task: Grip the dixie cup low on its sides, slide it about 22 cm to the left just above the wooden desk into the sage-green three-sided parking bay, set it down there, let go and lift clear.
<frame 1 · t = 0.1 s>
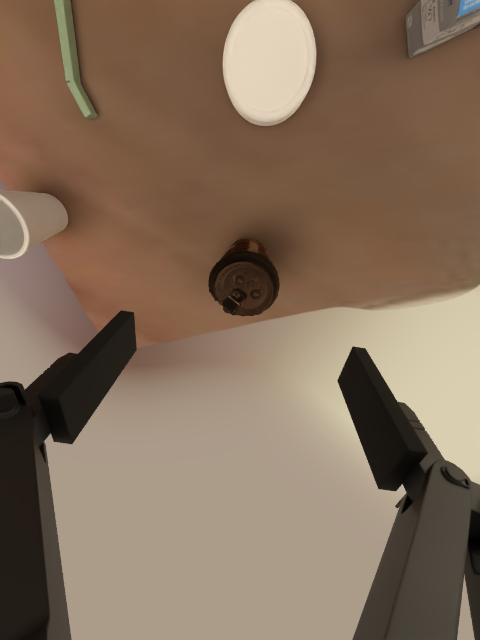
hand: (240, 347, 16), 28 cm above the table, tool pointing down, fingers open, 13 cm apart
dixie cup: (50, 213, 40), on the table
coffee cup: (246, 257, 42), on the table
label tape box: (449, 16, 27), on the table
coaster: (267, 74, 31), on the table
parking bay: (5, 3, 29), on the table
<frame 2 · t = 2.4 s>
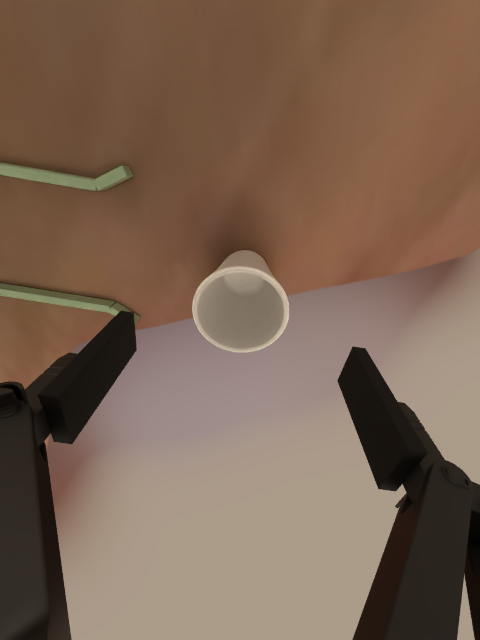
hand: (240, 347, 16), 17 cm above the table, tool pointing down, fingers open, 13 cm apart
dixie cup: (244, 273, 31), on the table
parking bay: (58, 243, 30), on the table
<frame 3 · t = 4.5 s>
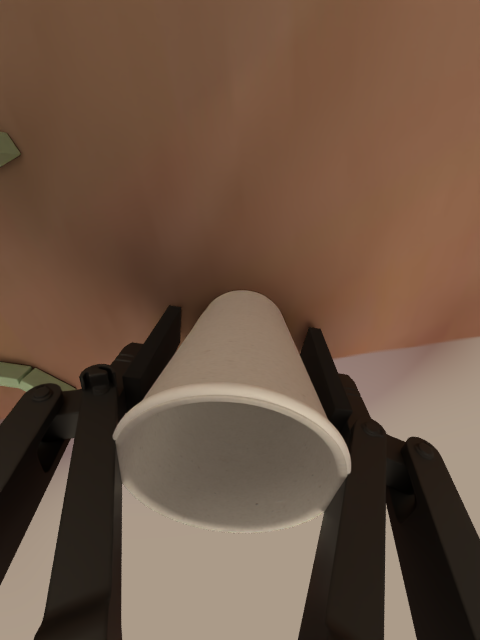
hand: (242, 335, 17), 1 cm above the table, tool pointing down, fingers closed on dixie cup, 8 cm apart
dixie cup: (243, 327, 18), on the table, touching gripper
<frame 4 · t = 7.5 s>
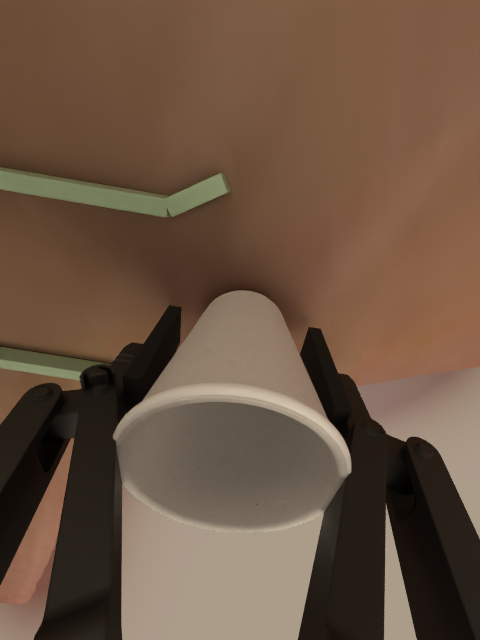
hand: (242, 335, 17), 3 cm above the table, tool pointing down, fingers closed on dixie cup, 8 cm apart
dixie cup: (243, 327, 18), point 2 cm above the table, touching gripper
parking bay: (91, 294, 19), on the table
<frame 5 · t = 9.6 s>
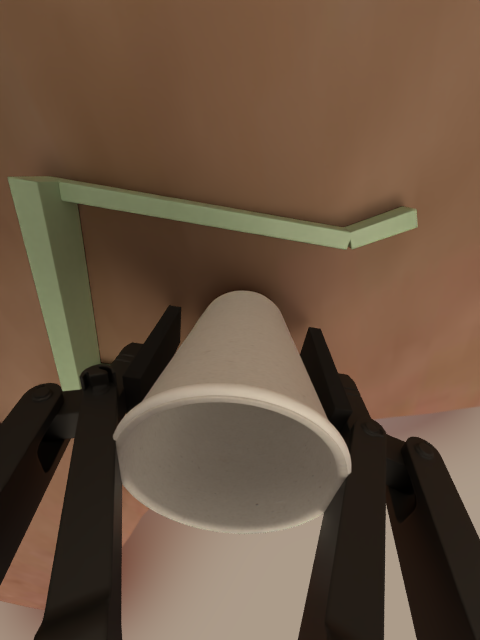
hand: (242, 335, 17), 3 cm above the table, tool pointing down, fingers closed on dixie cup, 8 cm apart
dixie cup: (243, 327, 18), point 2 cm above the table, touching gripper
parking bay: (231, 317, 19), on the table
when the fingers open (1 cm above the table, at t = 10.8 s): dixie cup stays where it is, on the table.
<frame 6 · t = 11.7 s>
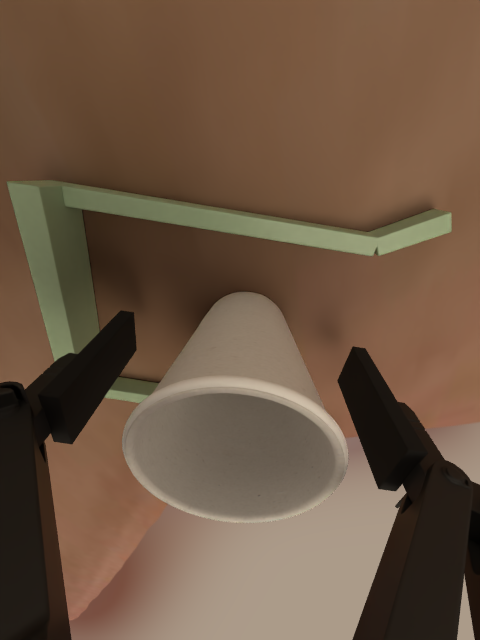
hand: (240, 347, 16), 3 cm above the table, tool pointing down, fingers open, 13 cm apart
dixie cup: (245, 327, 18), on the table
parking bay: (244, 327, 18), on the table
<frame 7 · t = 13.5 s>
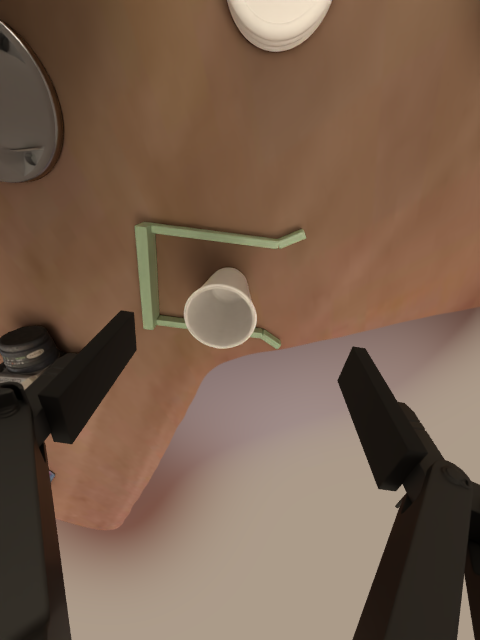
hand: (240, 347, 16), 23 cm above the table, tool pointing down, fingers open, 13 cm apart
dixie cup: (228, 285, 38), on the table
camera: (53, 346, 46), on the table
parking bay: (228, 285, 38), on the table
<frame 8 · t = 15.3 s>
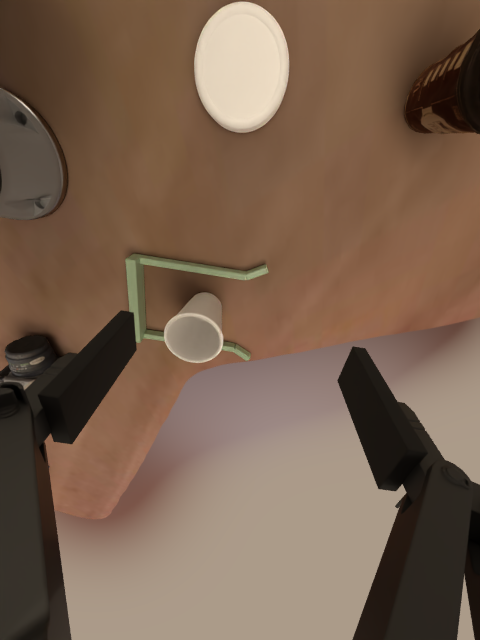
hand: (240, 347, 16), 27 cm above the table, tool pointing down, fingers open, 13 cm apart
dixie cup: (206, 306, 45), on the table
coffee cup: (432, 102, 30), on the table
coaster: (242, 80, 30), on the table
camera: (52, 353, 52), on the table
parking bay: (205, 307, 45), on the table
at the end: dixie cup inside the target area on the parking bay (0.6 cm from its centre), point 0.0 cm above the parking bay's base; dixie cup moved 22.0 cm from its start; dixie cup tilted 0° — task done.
